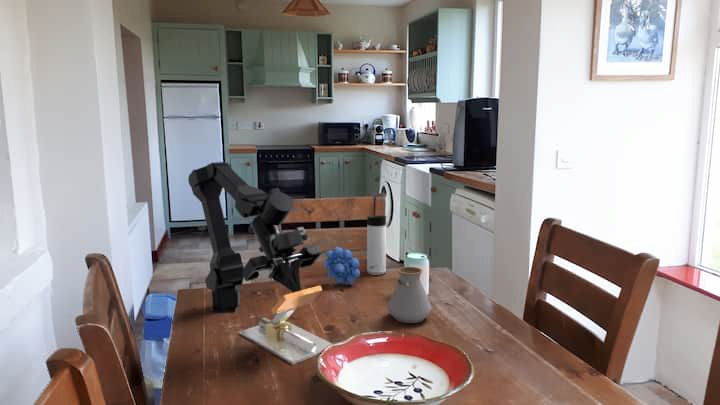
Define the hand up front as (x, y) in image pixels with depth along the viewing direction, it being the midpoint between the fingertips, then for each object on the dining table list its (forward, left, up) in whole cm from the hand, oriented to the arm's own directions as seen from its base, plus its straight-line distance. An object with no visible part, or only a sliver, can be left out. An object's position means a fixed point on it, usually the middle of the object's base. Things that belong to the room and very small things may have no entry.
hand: (298, 293), depth 118 cm
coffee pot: (+26, +12, -13) cm, 32 cm away
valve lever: (-6, +7, -9) cm, 12 cm away
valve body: (-4, +4, -13) cm, 14 cm away
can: (+32, +34, -13) cm, 49 cm away
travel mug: (+22, +56, -13) cm, 62 cm away
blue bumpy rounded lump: (+10, +44, -13) cm, 47 cm away
